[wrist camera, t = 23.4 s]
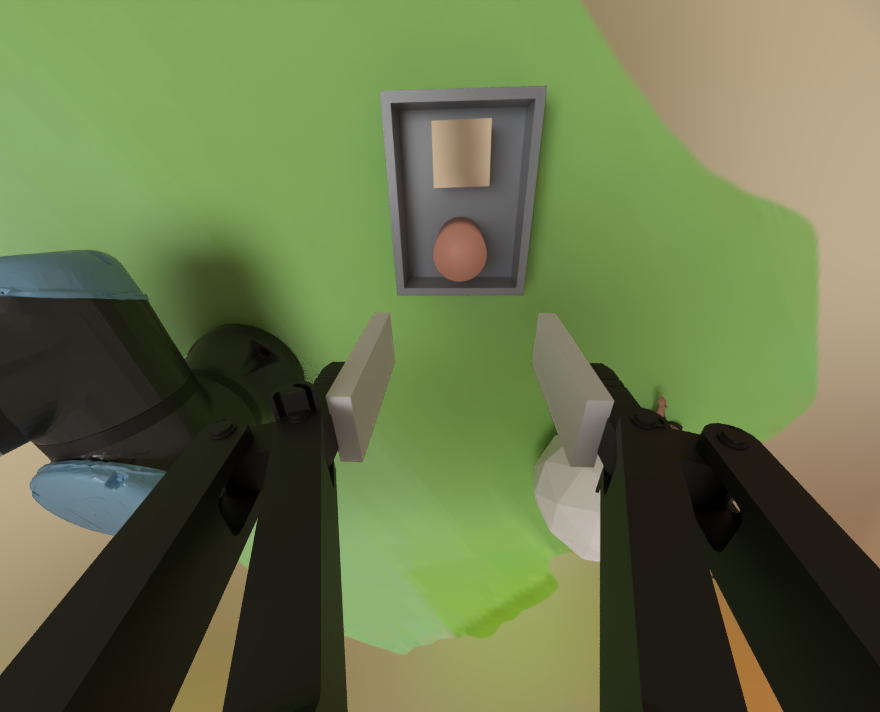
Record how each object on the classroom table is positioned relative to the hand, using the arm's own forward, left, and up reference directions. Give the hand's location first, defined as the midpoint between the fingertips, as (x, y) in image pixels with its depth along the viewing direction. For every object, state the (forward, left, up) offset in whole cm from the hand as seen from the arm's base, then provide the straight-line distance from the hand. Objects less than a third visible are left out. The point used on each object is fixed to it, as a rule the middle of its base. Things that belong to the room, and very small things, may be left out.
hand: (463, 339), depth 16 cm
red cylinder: (0, 0, -24) cm, 24 cm away
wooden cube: (0, +8, -24) cm, 26 cm away
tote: (0, +4, -25) cm, 25 cm away
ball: (+22, -30, -25) cm, 45 cm away
